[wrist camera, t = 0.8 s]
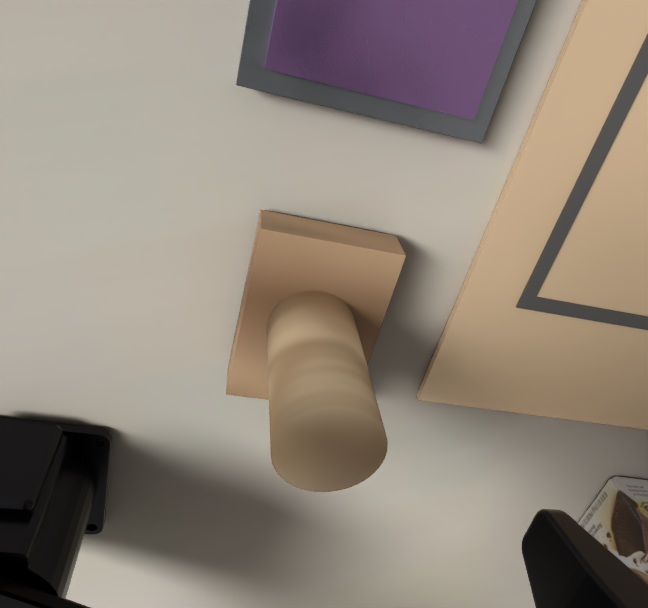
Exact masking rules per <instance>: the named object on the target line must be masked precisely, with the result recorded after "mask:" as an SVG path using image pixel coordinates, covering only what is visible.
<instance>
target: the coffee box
mask: <svg viewBox="0 0 648 608" xmlns="http://www.w3.org/2000/svg"><path fill="white" fill-rule="evenodd" d="M578 524H579V525H580V526H582V527H583V528H584V529H585V530H586V531H587V532H589V533H590V534H591V535H592V536H593V537H594V538H595V539H597V540H598V541H599V542H600V543H601V544H602V545H604V546H605V547H606V548H607V549H608V550H609V551H610V552H612V553H613V554H614V555H615V556H616V557H617V558H619V559H620V560H621V561H622V562H623V563H624V564H625V565H627V566H628V567H629V568H630V569H631V570H632V571H634V572H635V573H636V574H637V575H638V576H639V577H640V578H642V579H643V580H644V581H645V582H646V583H647V584H648V480H642V479H634V478H626V477H617V476H615V477H613V478H611V479H609V480H608V482H607V483H606V485H605V486H604V488H603V489H602V490H601V492H600V493H599V495H598V496H597V497H596V499H595V500H594V502H593V503H592V504H591V506H590V507H589V509H588V510H587V511H586V513H585V514H584V515H583V517H582V518H581V520H580V521H579V522H578Z"/></svg>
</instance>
